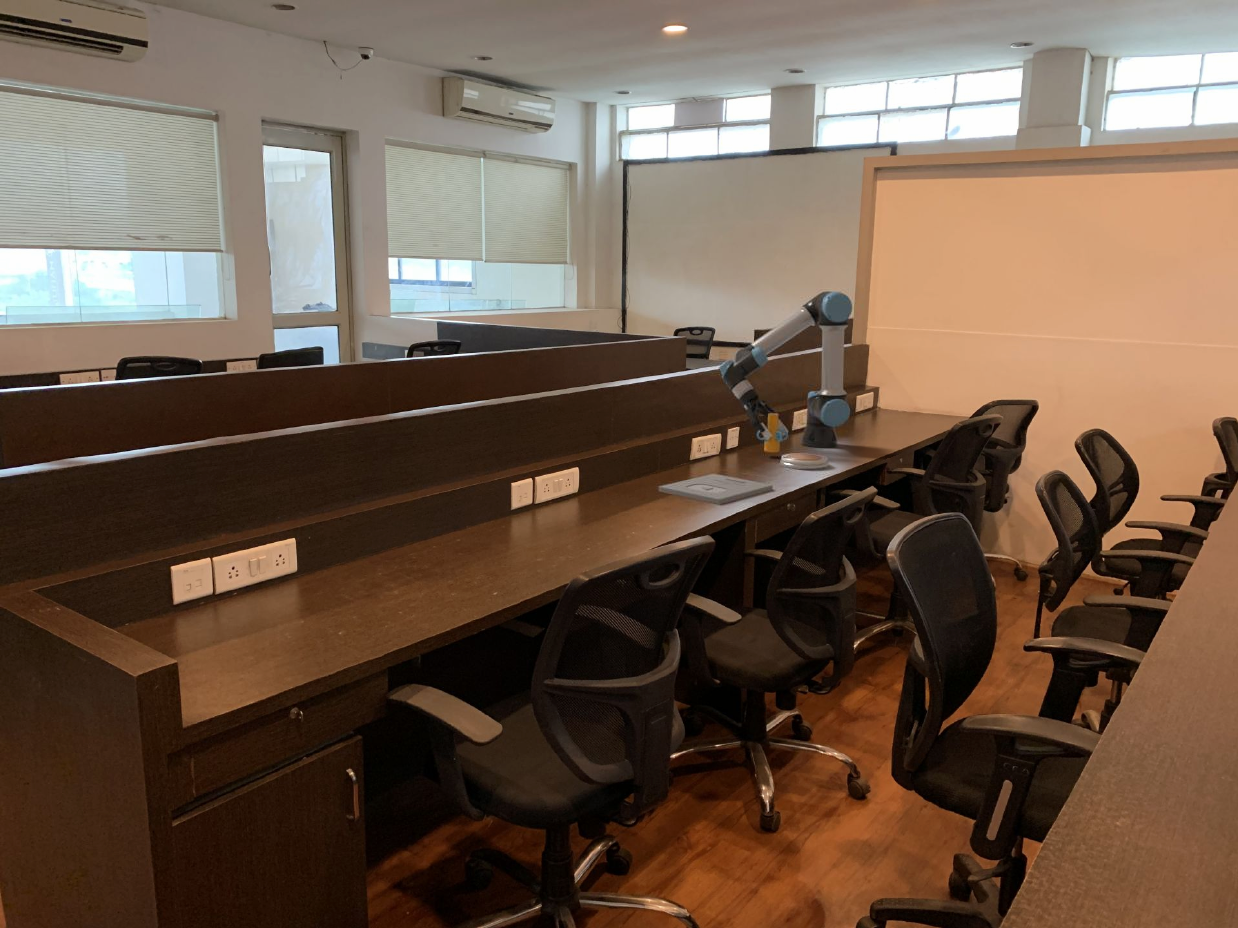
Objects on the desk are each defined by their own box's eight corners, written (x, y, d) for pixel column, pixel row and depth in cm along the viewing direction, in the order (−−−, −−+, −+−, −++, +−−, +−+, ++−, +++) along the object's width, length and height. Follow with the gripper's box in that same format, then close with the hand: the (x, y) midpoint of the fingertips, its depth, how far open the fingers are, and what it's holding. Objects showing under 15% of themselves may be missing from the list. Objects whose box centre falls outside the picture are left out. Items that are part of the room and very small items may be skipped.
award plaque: (772, 491, 310) (772, 484, 310) (718, 506, 288) (719, 499, 288) (713, 479, 326) (713, 473, 326) (658, 492, 305) (658, 486, 304)
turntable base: (819, 460, 362) (819, 456, 361) (834, 470, 344) (834, 466, 344) (774, 460, 360) (774, 457, 359) (787, 470, 342) (787, 466, 342)
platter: (818, 457, 361) (819, 452, 360) (833, 465, 344) (833, 461, 344) (776, 457, 359) (776, 452, 359) (788, 465, 342) (788, 461, 342)
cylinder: (786, 449, 372) (788, 412, 369) (788, 454, 361) (790, 416, 358) (755, 448, 373) (757, 411, 370) (756, 453, 363) (758, 415, 360)
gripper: (755, 397, 382) (786, 437, 376) (723, 403, 364) (755, 445, 357) (767, 385, 378) (799, 426, 371) (735, 390, 359) (768, 433, 353)
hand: (778, 435), depth 364 cm, fingers closed on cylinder, 12 cm apart
